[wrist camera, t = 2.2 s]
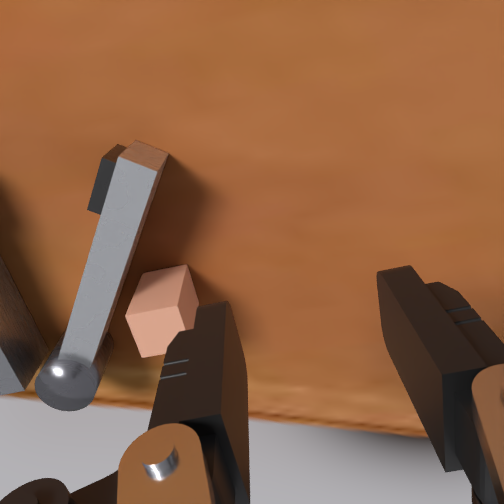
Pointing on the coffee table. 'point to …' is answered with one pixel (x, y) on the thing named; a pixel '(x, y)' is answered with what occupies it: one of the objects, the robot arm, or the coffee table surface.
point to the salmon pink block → (162, 309)
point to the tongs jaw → (17, 338)
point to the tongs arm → (102, 275)
